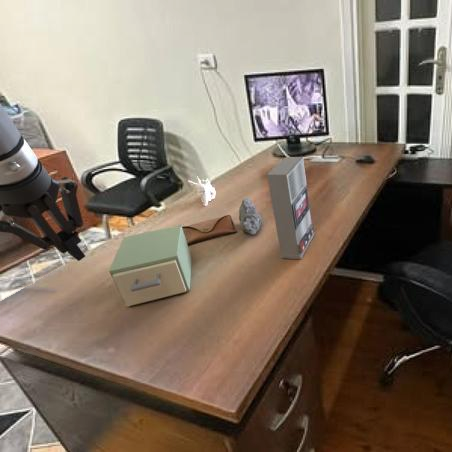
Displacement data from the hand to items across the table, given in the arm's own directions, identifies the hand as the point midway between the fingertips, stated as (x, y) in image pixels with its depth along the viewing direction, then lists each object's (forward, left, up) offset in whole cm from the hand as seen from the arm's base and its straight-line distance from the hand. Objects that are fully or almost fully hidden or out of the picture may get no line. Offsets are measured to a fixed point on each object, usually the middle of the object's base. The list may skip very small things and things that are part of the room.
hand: (77, 255), depth 69 cm
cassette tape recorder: (+49, +2, -20) cm, 53 cm away
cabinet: (+12, +12, -20) cm, 26 cm away
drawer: (+11, +9, -19) cm, 24 cm away
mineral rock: (+42, +23, -20) cm, 52 cm away
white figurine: (+37, +58, -20) cm, 72 cm away
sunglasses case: (+30, +28, -20) cm, 45 cm away
